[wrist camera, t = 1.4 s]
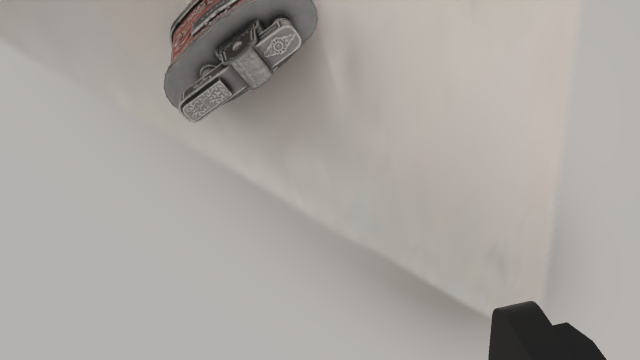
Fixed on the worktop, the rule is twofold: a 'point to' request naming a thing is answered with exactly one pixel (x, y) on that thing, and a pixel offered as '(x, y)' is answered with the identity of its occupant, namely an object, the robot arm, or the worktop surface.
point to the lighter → (231, 49)
